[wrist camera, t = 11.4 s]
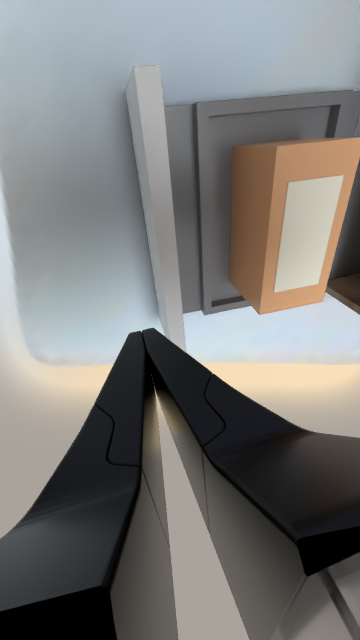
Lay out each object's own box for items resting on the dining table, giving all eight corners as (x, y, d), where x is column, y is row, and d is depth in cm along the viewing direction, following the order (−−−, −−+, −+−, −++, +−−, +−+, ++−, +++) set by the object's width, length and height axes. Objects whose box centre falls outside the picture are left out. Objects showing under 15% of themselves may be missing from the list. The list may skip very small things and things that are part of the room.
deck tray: (160, 320, 23) (172, 360, 18) (125, 90, 14) (133, 66, 10) (308, 290, 25) (350, 321, 20) (356, 73, 16) (445, 48, 12)
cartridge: (232, 146, 16) (278, 146, 12) (301, 138, 16) (366, 136, 12) (229, 281, 21) (260, 315, 17) (281, 272, 22) (323, 302, 17)
